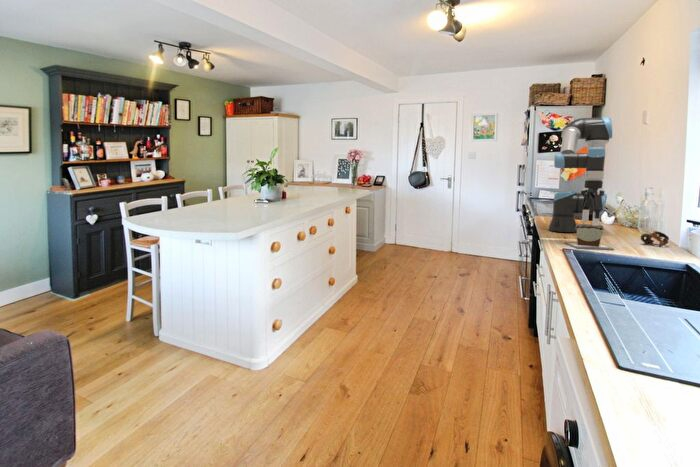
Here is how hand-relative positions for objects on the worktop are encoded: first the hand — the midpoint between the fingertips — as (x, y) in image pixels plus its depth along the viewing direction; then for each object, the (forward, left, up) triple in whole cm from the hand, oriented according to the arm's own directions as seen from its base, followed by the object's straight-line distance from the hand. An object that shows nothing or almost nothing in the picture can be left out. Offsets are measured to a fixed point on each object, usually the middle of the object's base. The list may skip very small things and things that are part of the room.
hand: (590, 224), depth 208 cm
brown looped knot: (-15, +34, -12) cm, 39 cm away
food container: (0, 0, -11) cm, 11 cm away
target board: (0, 0, -11) cm, 11 cm away
